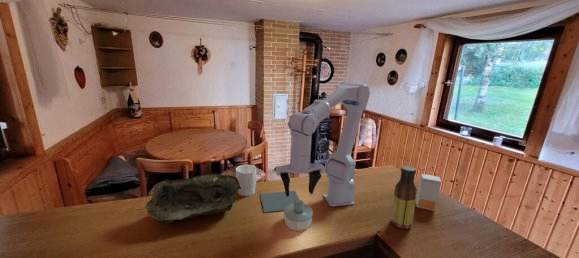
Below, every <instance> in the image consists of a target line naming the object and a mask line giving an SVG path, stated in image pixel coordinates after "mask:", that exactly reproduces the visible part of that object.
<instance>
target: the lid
mask: <svg viewBox="0 0 579 258" xmlns="http://www.w3.org/2000/svg"><path fill="white" fill-rule="evenodd" d="M283 215H285V217H286V218H288V219H289V220H291V221H295V222H304V221H307V220H309V219H310V218H311V217H312V218H313V215H314V211H313V208H311V206H309V205H308V204H305V203H304V200H302V199H299V200H295V201H294V203H292V204H289V205H287V206H286V207H285V209H284V211H283Z"/></svg>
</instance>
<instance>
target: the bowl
mask: <svg viewBox="0 0 579 258" xmlns="http://www.w3.org/2000/svg"><path fill="white" fill-rule="evenodd" d="M283 215H284V214H283ZM283 220H284V225H285V226H286V228H287V229H289V230H290V231H294V232H304V231H306V230H308V229H310V227H311V224H312V223H313V216H312V217H311V218H310V219H309V220H307V221H304V222H295V221H291V220H289V219H288V218H286V217H285V215H284V216H283Z"/></svg>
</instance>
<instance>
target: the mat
mask: <svg viewBox="0 0 579 258" xmlns="http://www.w3.org/2000/svg"><path fill="white" fill-rule="evenodd" d="M259 195H260V196H259V197H260V201H261V204H262V209H263V213H264V214H268V213H277V212H284V209H285V207H286V206H287V205H289V204H292V203H294V201H295V200H300V197H299V196H298V194H297V192H296V190H289V196H288V197H287V196H286V194H285V190H284V191H276V192H275V191H274V192H264V193H259Z"/></svg>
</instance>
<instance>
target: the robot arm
mask: <svg viewBox="0 0 579 258" xmlns="http://www.w3.org/2000/svg"><path fill="white" fill-rule="evenodd" d="M370 95H371V93H370V87H369V85H368V84H367V83H355V82H345V81H341V82H339V84H337V85H336V86H335V90H333V91H332V92H331V93H330V94H329V95H328V96H326V97H325V99H315V100H314V101H313V103H311V104H310V105H308V106H307V107H305V108H304V109H303V110H301V111H296V112H295V113H293V114H292V115H290V117H289V121H288V122H287V127H288V129H289V130H290V136H291V148H290V149H291V151H290V152H291V153H290V157H291V158H290V164H284V165H279V166H275V173H276V175H277V176H280V179H281V180H282V183H283V188H284V191H285V194H286V196H287V197H288V196H289V191H290V182H291V178H290V174H306V173H308V181H309V182H308V193H309V194H310V195H313V194H314V190H315V189H316V185H317V184H318V183H319V182H320V179H321V178H322V173H324V172H325V174H327V175H326V177H327V178H328V180H327V181H328V183H327V193H324V194H323V195H322V196H323V198H324V199H325V200H326V202H327V203H328V205H329V206H330V207H338V206H339V207H340V206H349V205H355V201H354V200H355V198H354V197H355V191H356V183H355V181H354V177H355V173H356V161H355V160H354V159H353V157H352V156H351V154H352V151H353V147H354V144H355V140H356V138H357V137H356V136H357V132H358V129H359V126H360V122H361V119H362V115H363V112H364V110H366V109H367V105H368V103H369V98H370ZM340 103H341V105H343V107H345V108H346V110H347V112H346V114H345V119H344V122H343V125H342V129H341V132H340V137H339V139H338V144H337V149H336V151H335V152H333V153H331V154H329V156H328V159H327V161H326V162H325V165H324V164H322V163H311V151H312V135H313V134H314V133H315V132H316V130H317V128H318V126H319V124H320V122H322V121H323V120H325V119H326V118H327V117H328V116H329V115H330V114H331V110H332V109H333V108H334V107H336V106H338V105H339V104H340Z"/></svg>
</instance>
